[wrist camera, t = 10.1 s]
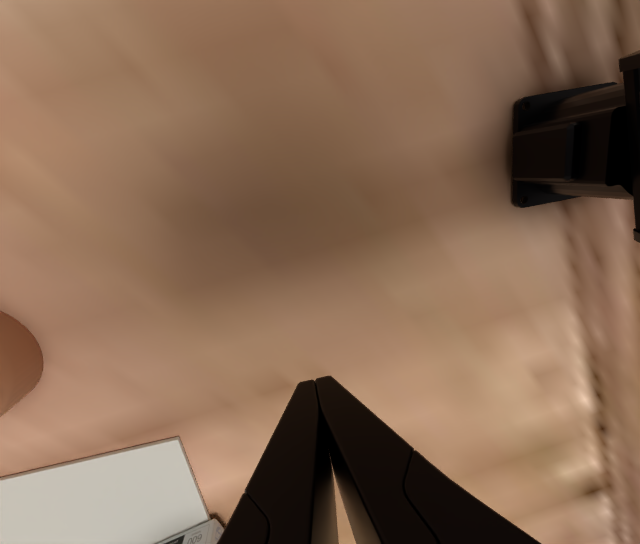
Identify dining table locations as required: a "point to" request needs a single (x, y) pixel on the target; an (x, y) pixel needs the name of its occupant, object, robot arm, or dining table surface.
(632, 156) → the robot arm
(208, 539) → the light bulb box
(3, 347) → the tan smooth round cylinder
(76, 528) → the mat
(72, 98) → the dining table surface
